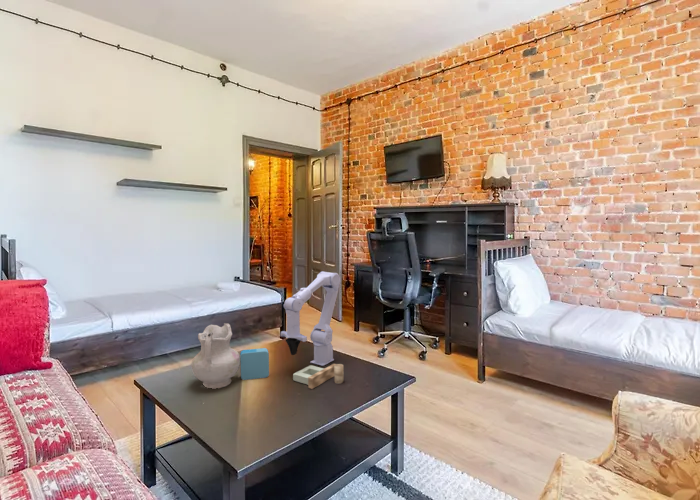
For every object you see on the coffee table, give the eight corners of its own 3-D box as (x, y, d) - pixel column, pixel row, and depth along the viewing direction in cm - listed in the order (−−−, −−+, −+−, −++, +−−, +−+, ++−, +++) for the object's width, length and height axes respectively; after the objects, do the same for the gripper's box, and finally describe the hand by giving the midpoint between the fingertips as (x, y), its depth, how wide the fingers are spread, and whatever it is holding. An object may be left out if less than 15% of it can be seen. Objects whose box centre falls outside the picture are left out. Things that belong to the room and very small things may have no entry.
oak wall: (333, 373, 172) (333, 363, 172) (337, 374, 171) (337, 364, 171) (308, 387, 157) (308, 377, 157) (312, 389, 156) (312, 378, 156)
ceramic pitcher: (239, 394, 154) (243, 333, 153) (187, 398, 148) (190, 334, 146) (238, 374, 174) (241, 320, 173) (192, 376, 168) (195, 320, 167)
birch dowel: (337, 378, 166) (337, 363, 166) (345, 381, 164) (345, 365, 164) (332, 382, 163) (332, 366, 162) (340, 384, 161) (340, 368, 160)
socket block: (310, 371, 174) (310, 365, 174) (328, 375, 169) (328, 369, 169) (293, 380, 164) (293, 373, 164) (311, 385, 159) (311, 379, 159)
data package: (268, 373, 172) (268, 347, 171) (269, 377, 168) (268, 350, 167) (240, 376, 169) (240, 350, 168) (240, 380, 165) (240, 353, 164)
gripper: (275, 323, 172) (275, 353, 173) (298, 329, 163) (299, 360, 164) (286, 320, 177) (287, 349, 178) (309, 325, 169) (310, 355, 170)
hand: (293, 354), depth 172 cm, fingers closed
